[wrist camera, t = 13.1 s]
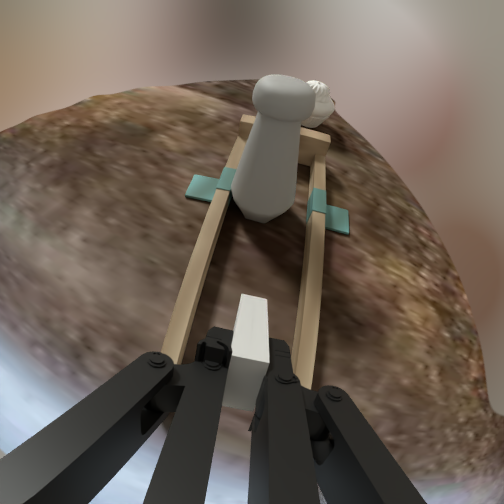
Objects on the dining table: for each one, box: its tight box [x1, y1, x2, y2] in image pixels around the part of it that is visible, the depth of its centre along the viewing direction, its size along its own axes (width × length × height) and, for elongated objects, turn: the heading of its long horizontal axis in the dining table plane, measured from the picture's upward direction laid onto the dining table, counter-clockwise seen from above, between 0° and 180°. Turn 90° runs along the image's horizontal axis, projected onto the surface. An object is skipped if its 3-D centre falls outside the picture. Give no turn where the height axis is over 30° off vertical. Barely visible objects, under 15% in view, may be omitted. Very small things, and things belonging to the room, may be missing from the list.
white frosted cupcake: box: [301, 81, 334, 128], centre depth 34 cm, size 6×6×7 cm
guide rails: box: [161, 115, 349, 390], centre depth 23 cm, size 16×29×4 cm, turn 170°
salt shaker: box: [231, 75, 316, 224], centre depth 21 cm, size 6×6×13 cm
